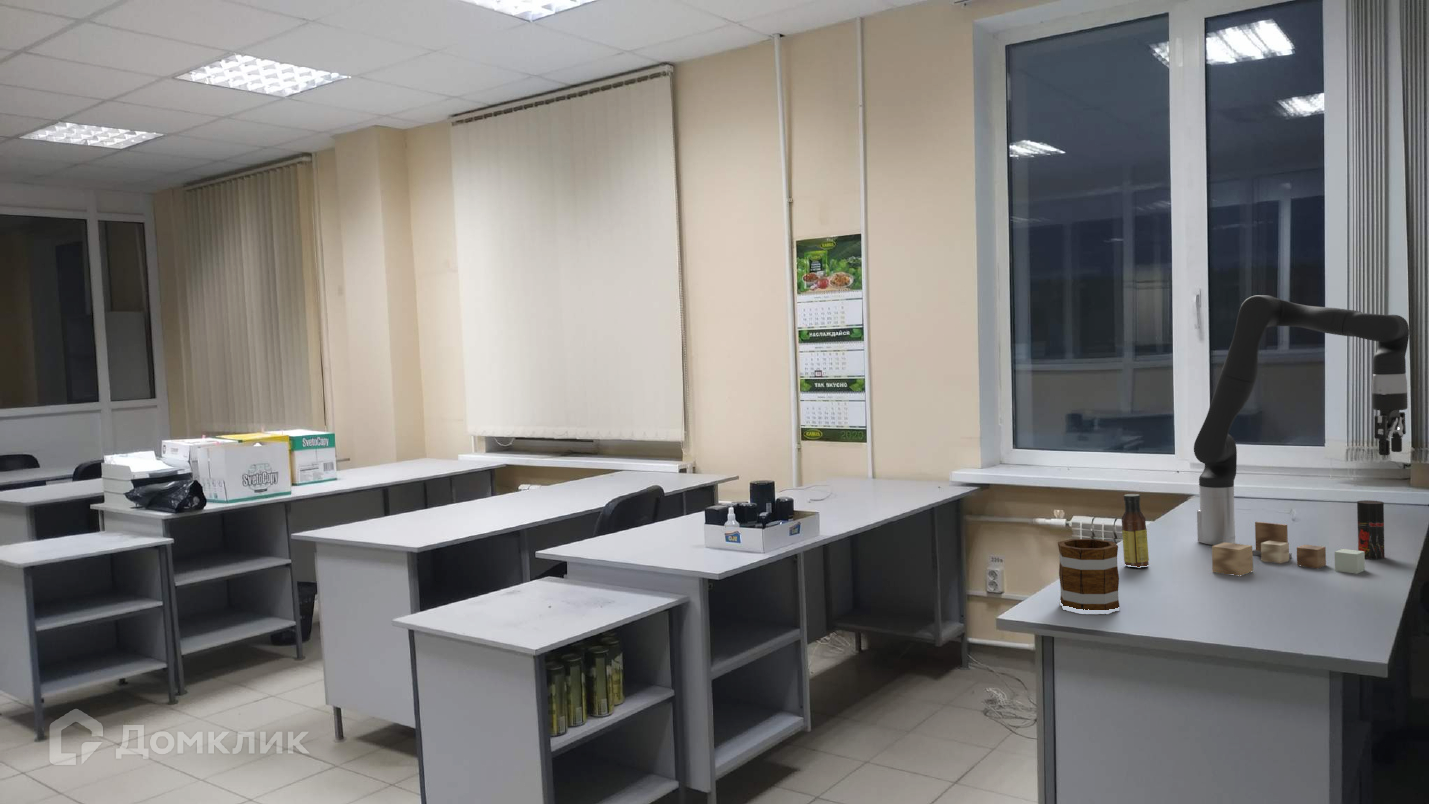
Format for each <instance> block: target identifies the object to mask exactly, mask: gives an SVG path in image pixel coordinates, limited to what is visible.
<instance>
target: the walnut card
mask: <svg viewBox="0 0 1429 804" xmlns="http://www.w3.org/2000/svg"><path fill="white" fill-rule="evenodd" d="M1254 529H1255V530H1254V531H1255V532H1254V534H1255V549H1252V555H1253V556H1259V557H1261V543H1263V542H1266V541H1269V540H1270V541H1278V542H1287V543H1289V542H1288V541H1289V537H1288V524H1285V523H1284V524H1282V523H1272V522H1264V521H1263V522H1262V521H1255V522H1254ZM1289 559H1292V553H1291V552H1289Z"/></svg>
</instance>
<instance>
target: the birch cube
mask: <svg viewBox="0 0 1429 804" xmlns="http://www.w3.org/2000/svg"><path fill="white" fill-rule="evenodd" d="M1289 543H1290V542H1288V543H1287V542H1278V541H1270V540H1269V541H1266V542H1263V543H1261V556H1260V557H1261V558H1260V559H1261V562H1264V563H1265V562H1267V563H1272V562H1276V564H1280V563H1281V564H1284V563H1287V562H1289V561H1290V558H1289V553H1290V545H1289ZM1283 562H1284V563H1283Z"/></svg>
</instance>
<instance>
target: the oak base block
mask: <svg viewBox="0 0 1429 804" xmlns="http://www.w3.org/2000/svg"><path fill="white" fill-rule="evenodd" d="M1252 551H1253V545H1250V544H1249V545H1248V544H1241V543H1235V544H1234V543H1226V542H1224V543H1221V544H1218V545H1211V557H1212V559H1211V560H1212V561H1211V562H1212V566H1211V567H1212V573H1213V572H1218V573H1217V574H1220V573H1224V574H1223V575H1226V574H1234V575H1239V576H1238V577H1241V576H1240V575H1243V574H1246V575H1248V574H1247V573H1249V572H1251V571H1253V572H1254V565H1253V564H1254V563H1253V558H1254V557H1253V556H1254V555H1252ZM1251 573H1252V572H1251ZM1249 574H1250V573H1249ZM1243 576H1244V575H1243Z"/></svg>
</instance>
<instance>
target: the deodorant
mask: <svg viewBox="0 0 1429 804" xmlns="http://www.w3.org/2000/svg"><path fill="white" fill-rule="evenodd" d="M1356 503H1357V504H1356V506H1357V507H1356V510H1357V512H1356V513H1357V517H1356V518H1357V551H1364V552H1365V559H1366V560H1367V559H1368V560H1384V559H1385V558H1386V557H1385V514H1384V513H1385V509H1384V502H1383V501H1381V500H1379V501H1378V500H1371V499H1370V500H1369V499H1368V500H1358V501H1356Z"/></svg>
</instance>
